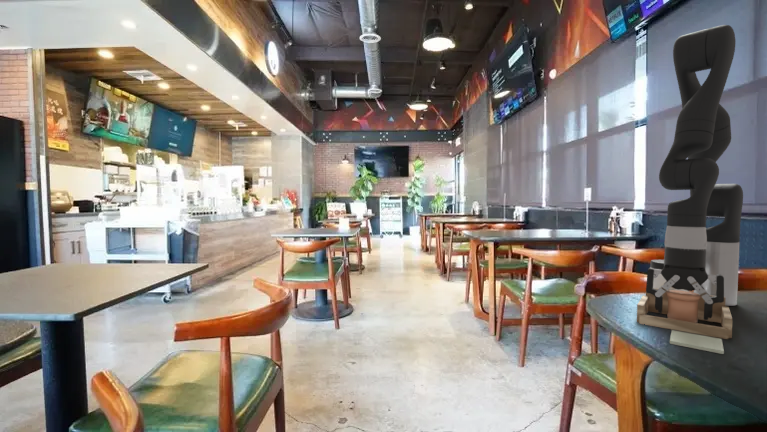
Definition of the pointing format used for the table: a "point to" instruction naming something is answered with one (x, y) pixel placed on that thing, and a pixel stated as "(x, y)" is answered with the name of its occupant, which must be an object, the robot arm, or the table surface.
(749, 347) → the table surface
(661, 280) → the jar
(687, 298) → the pot
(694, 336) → the pad
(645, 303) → the wooden tray
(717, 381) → the table surface
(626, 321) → the table surface
